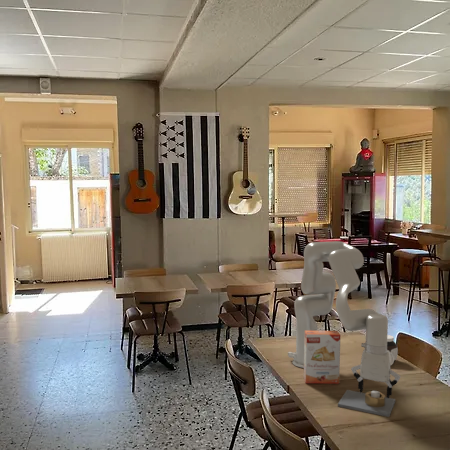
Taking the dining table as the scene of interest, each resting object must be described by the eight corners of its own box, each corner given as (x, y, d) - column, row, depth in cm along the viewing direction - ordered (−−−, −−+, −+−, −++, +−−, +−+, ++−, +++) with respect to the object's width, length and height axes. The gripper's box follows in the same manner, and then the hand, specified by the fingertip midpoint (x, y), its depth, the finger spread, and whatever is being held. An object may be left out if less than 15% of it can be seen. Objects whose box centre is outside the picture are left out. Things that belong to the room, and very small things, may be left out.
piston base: (337, 406, 174) (338, 393, 173) (347, 392, 186) (347, 379, 186) (389, 417, 165) (389, 403, 165) (395, 401, 177) (395, 388, 177)
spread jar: (389, 357, 226) (389, 333, 226) (405, 365, 216) (405, 340, 215) (367, 360, 223) (368, 335, 222) (382, 368, 212) (383, 342, 211)
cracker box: (305, 384, 194) (306, 334, 193) (303, 378, 200) (303, 329, 199) (340, 384, 194) (340, 334, 192) (336, 378, 200) (337, 329, 198)
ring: (364, 404, 173) (364, 396, 172) (367, 397, 178) (367, 390, 178) (382, 408, 170) (383, 400, 169) (386, 401, 175) (386, 393, 175)
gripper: (349, 347, 174) (348, 392, 175) (399, 355, 166) (398, 403, 167) (354, 341, 180) (353, 385, 182) (402, 349, 172) (401, 394, 173)
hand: (374, 393), depth 174 cm, fingers open, 9 cm apart
